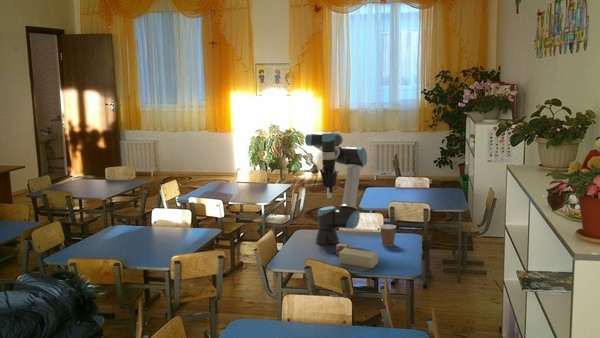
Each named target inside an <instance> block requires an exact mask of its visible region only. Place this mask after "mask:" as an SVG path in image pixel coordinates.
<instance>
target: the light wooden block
mask: <svg viewBox="0 0 600 338" xmlns="http://www.w3.org/2000/svg"><path fill="white" fill-rule="evenodd" d="M338 260H339V261H338V262H339V264H341V263H343V264H349V265H356V266H362V267H368V268H371V269H373V268H375V267H374V266H375V265H377V264H378V263H379V261H378V260H379V259H378V252H377V251H370V250H362V249H357V248H356V249H355V248H350V247H349V248H344V249H343V250H342V251H340V252H339V255H338Z"/></svg>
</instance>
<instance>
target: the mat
mask: <svg viewBox="0 0 600 338" xmlns="http://www.w3.org/2000/svg"><path fill="white" fill-rule="evenodd" d="M337 267H342V268H345V269H349V270H353V271H356V272H360V273H363V272H366V271H368V270H371V269H372V268H368V267H362V266H356V265H349V264H343V263H338V264H337ZM376 267H378V265H377V264H376V265H375V266H374V267H373V268H376Z"/></svg>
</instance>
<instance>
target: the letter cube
mask: <svg viewBox="0 0 600 338" xmlns="http://www.w3.org/2000/svg"><path fill="white" fill-rule="evenodd" d="M344 248H350V243H347V242H346V243H345V242H339V243H337V244H335V251H336V252H335V254H336V256H339V252H340V251H342V250H343V249H344Z"/></svg>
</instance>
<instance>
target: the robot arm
mask: <svg viewBox="0 0 600 338" xmlns="http://www.w3.org/2000/svg"><path fill="white" fill-rule="evenodd" d="M304 137H305V138H304V143H305V145H306V146H308V147H314V148H316V149H317V150H319V151H320V152H321V153H322V154H321V155H322V157H321V158H322V169H321V168H320V169H319V172H320V175H321V178H322V179H321V180H322V185H323V186H325V191H326V199H332V198H333V195H332V194H333V188H334V187H336V184H337V177H338V174H339V171H338V170H336V166H335V165H336V164H341V165H345V168H346V175H345V182H344V190H343V195H342V196H343V197H342V203H341V204H340V205H339V207H338V209H337V207H336V206H334V205H331V206H324V207H321V208H318V210H317V223H318V224H317V226H318V227H317V230H318V231H317V234H316V238H315V243H316V244H317V245H320V246H321V245H322V246H333V245H334V246H335V245H337V244H339V243H340V238H339V234H338V231H337V228H338V229H339V228H340V229H347V230H354V229H355V228H357V227H358V225H359V222H360V217H361V216H360V215H361V213H360V211H359V210H358V207H357V205H356V204H357V198H358V197H357V196H358V189H359V181H360V174H361V171H362V170H363V169H364V166H366V165H367V162H368V155H367V150H366V149H365V148H364V147H360V146H340V145H341V144H342V143H343V140H344V139H343V135H341V134H340V133H335V132H332V131H328V132H323V133H313V132H311V133H306V135H305V136H304Z"/></svg>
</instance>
